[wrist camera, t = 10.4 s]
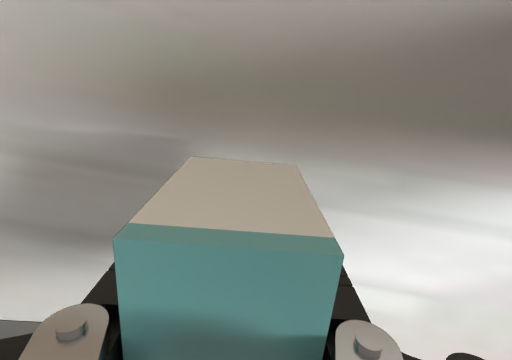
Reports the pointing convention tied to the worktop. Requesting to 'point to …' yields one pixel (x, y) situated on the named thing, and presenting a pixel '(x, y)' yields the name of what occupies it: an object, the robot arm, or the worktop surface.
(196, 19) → the worktop surface
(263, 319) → the block
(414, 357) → the robot arm
